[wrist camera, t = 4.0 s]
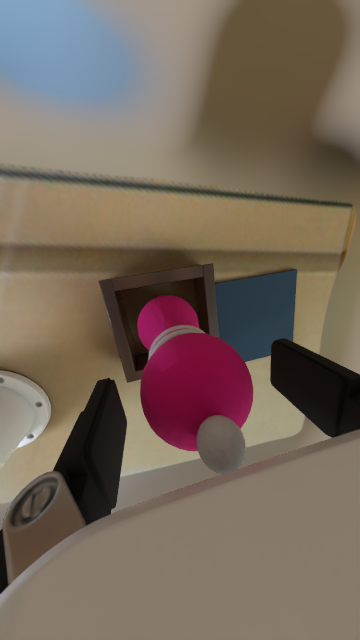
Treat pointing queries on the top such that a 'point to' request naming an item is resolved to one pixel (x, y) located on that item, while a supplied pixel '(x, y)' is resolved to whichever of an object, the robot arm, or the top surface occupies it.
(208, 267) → the stand
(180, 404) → the pepper mill
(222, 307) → the mat
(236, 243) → the top surface
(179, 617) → the robot arm
